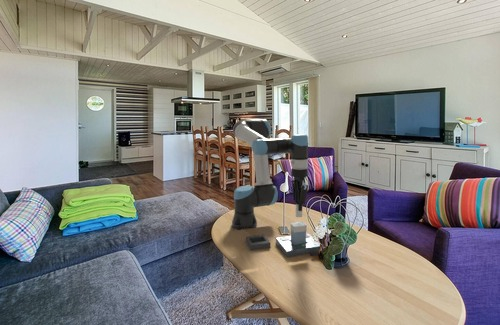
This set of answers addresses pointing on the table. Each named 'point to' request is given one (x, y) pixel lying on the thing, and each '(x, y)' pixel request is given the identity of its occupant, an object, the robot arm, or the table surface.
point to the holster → (257, 242)
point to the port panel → (298, 246)
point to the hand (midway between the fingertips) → (298, 216)
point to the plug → (298, 233)
